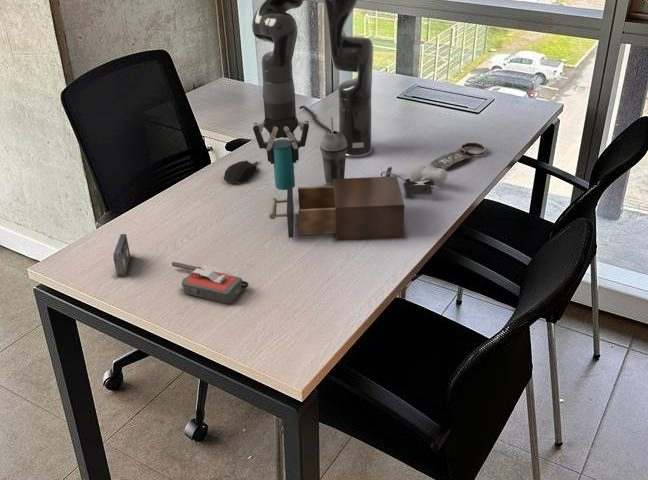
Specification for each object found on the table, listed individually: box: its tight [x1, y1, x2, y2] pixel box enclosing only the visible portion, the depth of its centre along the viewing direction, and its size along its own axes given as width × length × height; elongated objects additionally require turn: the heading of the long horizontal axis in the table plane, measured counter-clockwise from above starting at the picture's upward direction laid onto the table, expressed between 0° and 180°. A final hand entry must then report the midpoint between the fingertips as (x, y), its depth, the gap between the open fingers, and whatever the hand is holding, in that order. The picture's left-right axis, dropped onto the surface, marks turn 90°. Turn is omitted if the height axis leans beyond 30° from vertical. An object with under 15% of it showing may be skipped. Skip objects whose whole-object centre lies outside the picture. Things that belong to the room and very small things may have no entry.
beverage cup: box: [319, 116, 348, 186], centre depth 189 cm, size 7×7×20 cm
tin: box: [272, 138, 296, 191], centre depth 182 cm, size 5×5×12 cm
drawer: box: [268, 185, 336, 239], centre depth 175 cm, size 19×14×7 cm
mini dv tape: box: [112, 233, 131, 277], centre depth 162 cm, size 8×2×6 cm, turn 4°
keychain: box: [430, 141, 487, 170], centre depth 207 cm, size 8×19×2 cm, turn 131°
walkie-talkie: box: [171, 261, 249, 305], centre depth 155 cm, size 9×4×20 cm
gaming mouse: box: [223, 160, 258, 184], centre depth 202 cm, size 6×15×4 cm, turn 155°
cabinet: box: [333, 175, 405, 241], centre depth 175 cm, size 16×15×9 cm
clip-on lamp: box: [380, 163, 448, 198], centre depth 192 cm, size 12×6×18 cm
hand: (283, 161), depth 182 cm, fingers closed on tin, 5 cm apart
